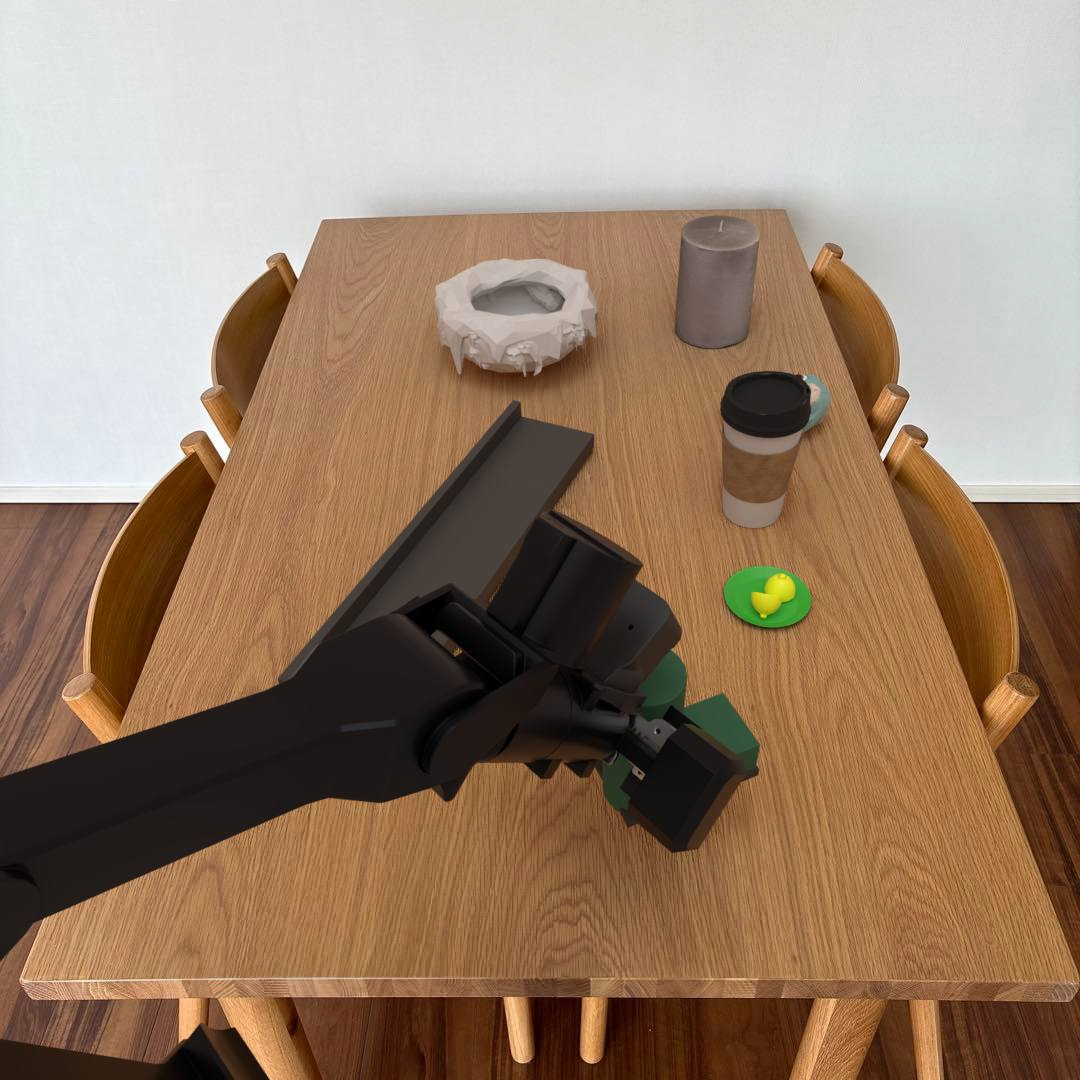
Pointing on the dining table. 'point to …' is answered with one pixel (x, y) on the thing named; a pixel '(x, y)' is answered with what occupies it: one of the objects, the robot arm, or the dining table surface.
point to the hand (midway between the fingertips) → (656, 718)
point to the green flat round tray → (767, 596)
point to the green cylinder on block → (708, 714)
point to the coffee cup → (761, 443)
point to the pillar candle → (716, 280)
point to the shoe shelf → (468, 523)
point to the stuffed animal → (816, 400)
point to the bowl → (515, 314)
